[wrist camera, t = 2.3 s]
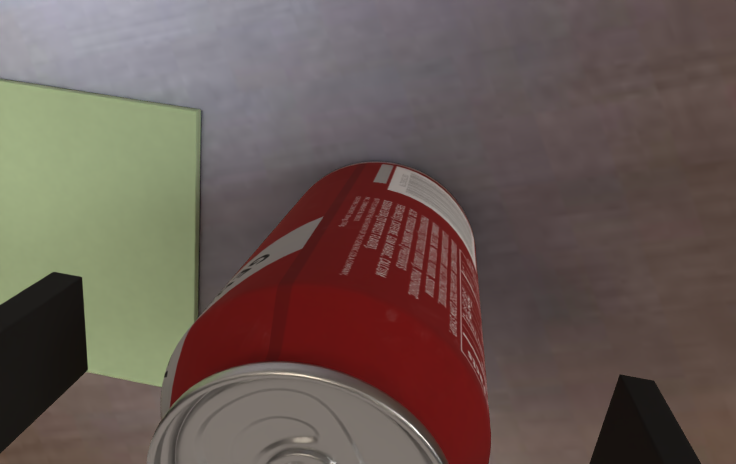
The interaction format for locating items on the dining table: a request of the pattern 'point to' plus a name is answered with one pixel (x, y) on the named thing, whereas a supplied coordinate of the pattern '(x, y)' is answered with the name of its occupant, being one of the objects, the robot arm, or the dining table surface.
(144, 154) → the mat
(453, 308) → the soda can
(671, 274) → the dining table surface
